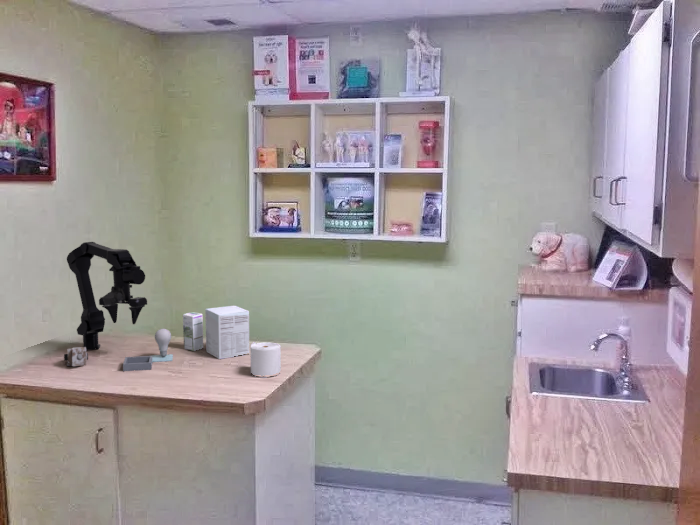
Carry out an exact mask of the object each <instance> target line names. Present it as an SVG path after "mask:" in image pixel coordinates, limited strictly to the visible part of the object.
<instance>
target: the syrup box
mask: <svg viewBox="0 0 700 525" xmlns="http://www.w3.org/2000/svg"><path fill="white" fill-rule="evenodd" d="M203 320H204V319H203V313H199V312H194V311H192V312H187V313H183V314H182V325H183V326H182V327H183V331H182V332H183V349H184V350H187V351H192V352H197V351H199V349H200V350H203V349H204V322H203ZM202 348H203V349H202ZM196 350H197V351H196Z"/></svg>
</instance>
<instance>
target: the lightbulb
mask: <svg viewBox="0 0 700 525" xmlns="http://www.w3.org/2000/svg"><path fill="white" fill-rule="evenodd" d="M154 340H155V342H156V343H157V346H158V350H159V355H160V356H162V357H165V356H166V355H168V350H169V349H168V348H169V344H170V342H171V340H172V334H171V331H170V330H169V329H166V328H160V329H158V330H157V331H155V334H154Z"/></svg>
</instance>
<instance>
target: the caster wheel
mask: <svg viewBox="0 0 700 525" xmlns="http://www.w3.org/2000/svg"><path fill="white" fill-rule="evenodd" d="M66 350H67V353H64V354H63V360H64V362H67V363H66V367H67V366H68V367H71V366H72V367H81V366H82V367H84V366H83V365H85V366H87V361H88V360H89V352H87V350H86V347H83V346H81V347H80V346H79V347H78V346H77V347H72V348H66Z"/></svg>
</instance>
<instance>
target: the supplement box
mask: <svg viewBox="0 0 700 525" xmlns="http://www.w3.org/2000/svg"><path fill="white" fill-rule="evenodd" d="M205 341H206V342H205V346H206V350H205V351H206V353H208V354H210V355H211V356H214V357H215V358H216V359H218V360H221V359H229V358H235V357H234V356H236V357H239V356H238V355H242V356H244V355H243V354H247V353H249V354H250V311H249V310H248V309H244V308H242V307H240V306H238V305H227V306H219V307H217V306H216V307H210V308H205Z"/></svg>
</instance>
